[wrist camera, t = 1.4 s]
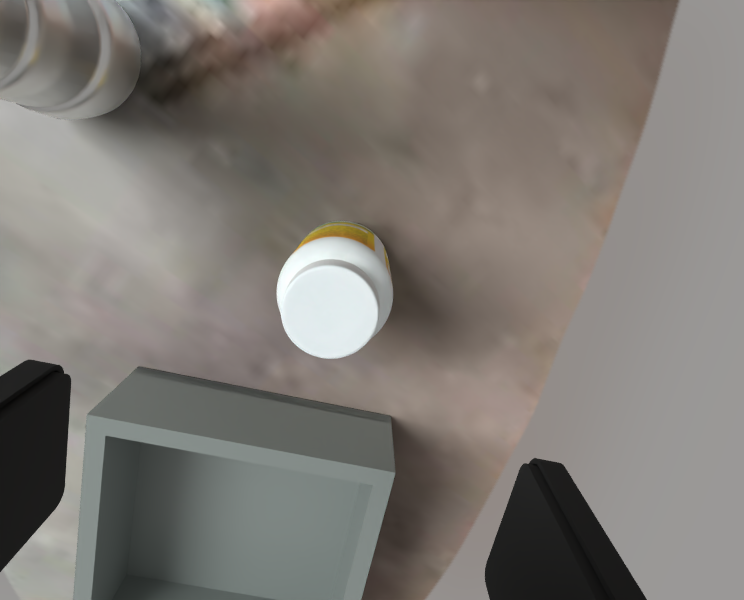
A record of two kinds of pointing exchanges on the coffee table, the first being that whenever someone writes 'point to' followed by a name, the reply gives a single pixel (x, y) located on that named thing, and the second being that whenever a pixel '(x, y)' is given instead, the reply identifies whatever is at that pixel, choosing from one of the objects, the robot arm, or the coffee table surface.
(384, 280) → the supplement bottle
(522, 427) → the coffee table surface
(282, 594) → the tote
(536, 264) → the coffee table surface
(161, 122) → the coffee table surface
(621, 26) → the coffee table surface
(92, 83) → the plastic bottle
